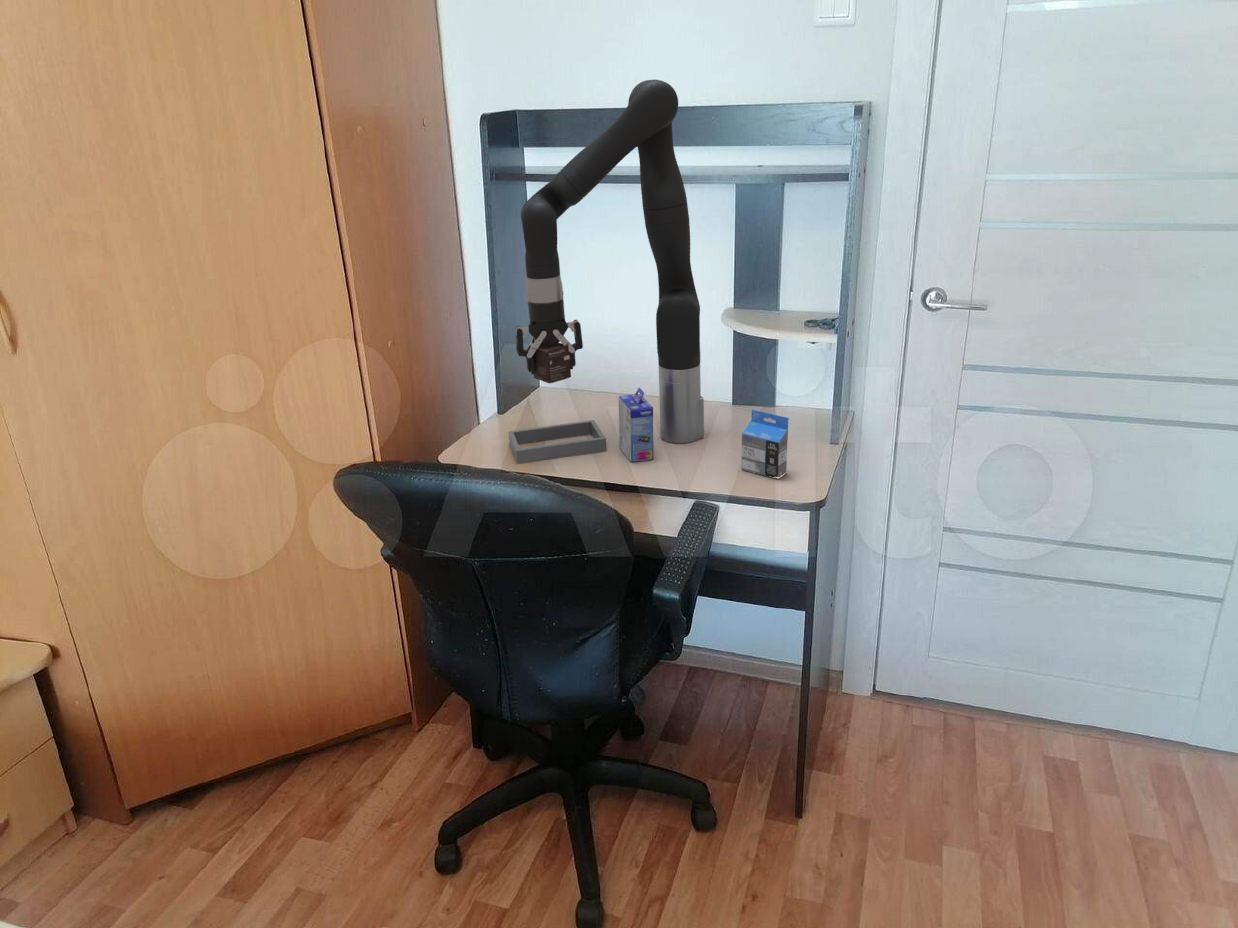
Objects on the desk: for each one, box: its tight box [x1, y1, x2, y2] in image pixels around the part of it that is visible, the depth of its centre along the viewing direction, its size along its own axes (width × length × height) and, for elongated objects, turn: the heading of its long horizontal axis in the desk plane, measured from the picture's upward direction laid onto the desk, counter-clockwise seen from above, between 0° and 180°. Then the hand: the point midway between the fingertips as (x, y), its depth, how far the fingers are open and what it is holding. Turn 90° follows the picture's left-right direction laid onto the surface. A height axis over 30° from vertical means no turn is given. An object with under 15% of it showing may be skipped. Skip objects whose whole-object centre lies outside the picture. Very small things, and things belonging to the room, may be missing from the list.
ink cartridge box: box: [618, 387, 655, 463], centre depth 196 cm, size 10×6×14 cm, turn 16°
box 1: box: [533, 342, 572, 384], centre depth 196 cm, size 6×6×7 cm
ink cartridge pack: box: [741, 409, 789, 477], centre depth 185 cm, size 9×4×12 cm, turn 51°
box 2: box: [507, 419, 608, 464], centre depth 203 cm, size 20×12×3 cm, turn 104°
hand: (551, 370), depth 197 cm, fingers closed on box 1, 8 cm apart
